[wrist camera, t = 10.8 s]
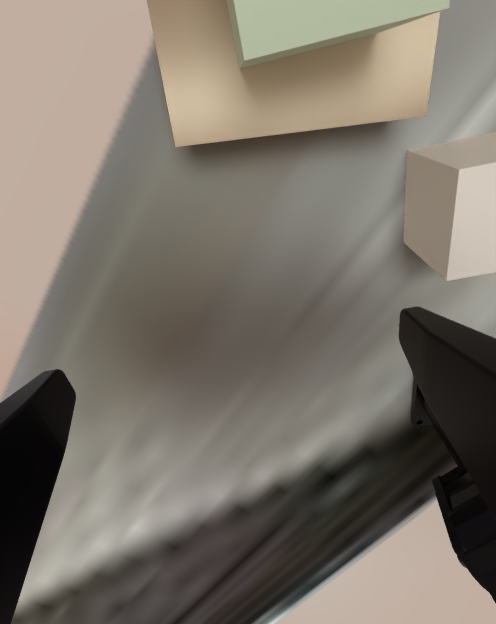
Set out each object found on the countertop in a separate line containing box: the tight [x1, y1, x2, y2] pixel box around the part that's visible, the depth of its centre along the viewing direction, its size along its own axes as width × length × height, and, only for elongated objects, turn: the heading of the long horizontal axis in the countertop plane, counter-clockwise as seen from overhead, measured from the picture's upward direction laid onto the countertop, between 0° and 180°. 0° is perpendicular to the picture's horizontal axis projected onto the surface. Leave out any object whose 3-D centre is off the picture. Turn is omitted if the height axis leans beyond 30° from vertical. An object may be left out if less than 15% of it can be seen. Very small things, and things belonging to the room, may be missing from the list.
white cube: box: [403, 132, 496, 281], centre depth 18 cm, size 5×5×5 cm
